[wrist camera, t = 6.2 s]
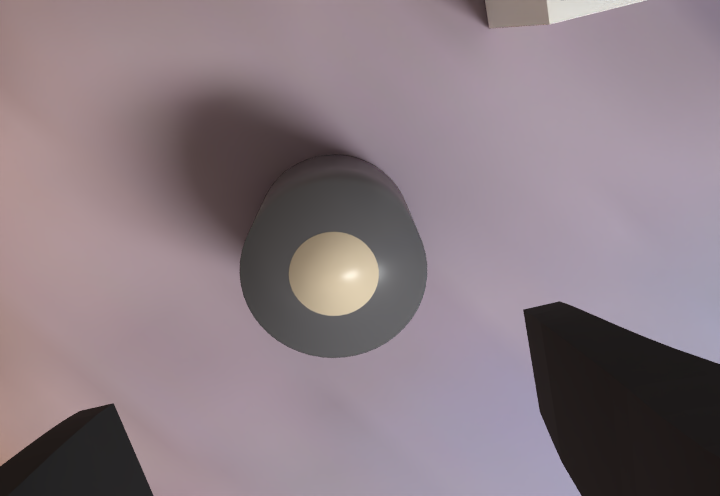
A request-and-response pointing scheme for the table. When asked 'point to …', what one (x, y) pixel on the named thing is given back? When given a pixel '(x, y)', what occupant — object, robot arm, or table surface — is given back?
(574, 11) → the box
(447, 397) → the table surface
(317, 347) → the ball-topped grey cylinder
